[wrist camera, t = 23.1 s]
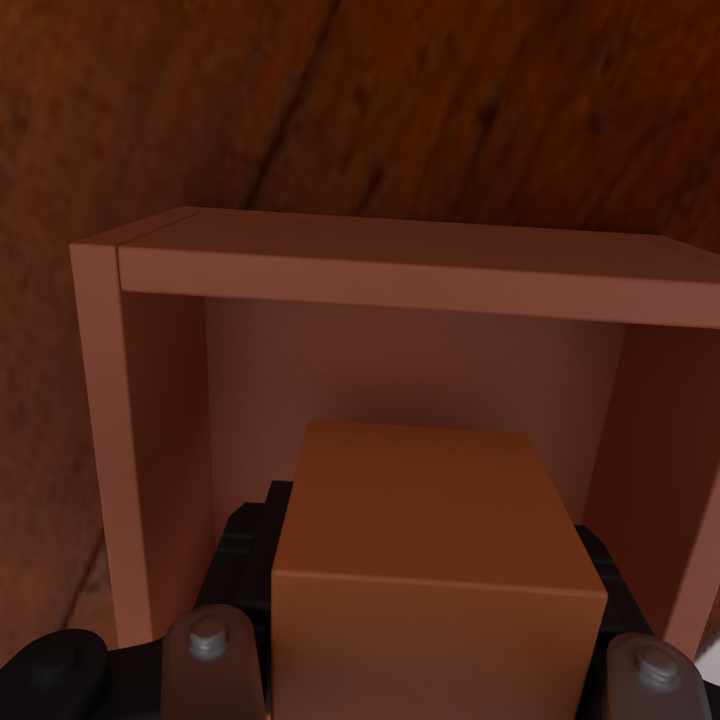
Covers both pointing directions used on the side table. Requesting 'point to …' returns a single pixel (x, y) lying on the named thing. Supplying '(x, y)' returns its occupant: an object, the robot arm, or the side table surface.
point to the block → (428, 581)
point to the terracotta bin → (398, 380)
